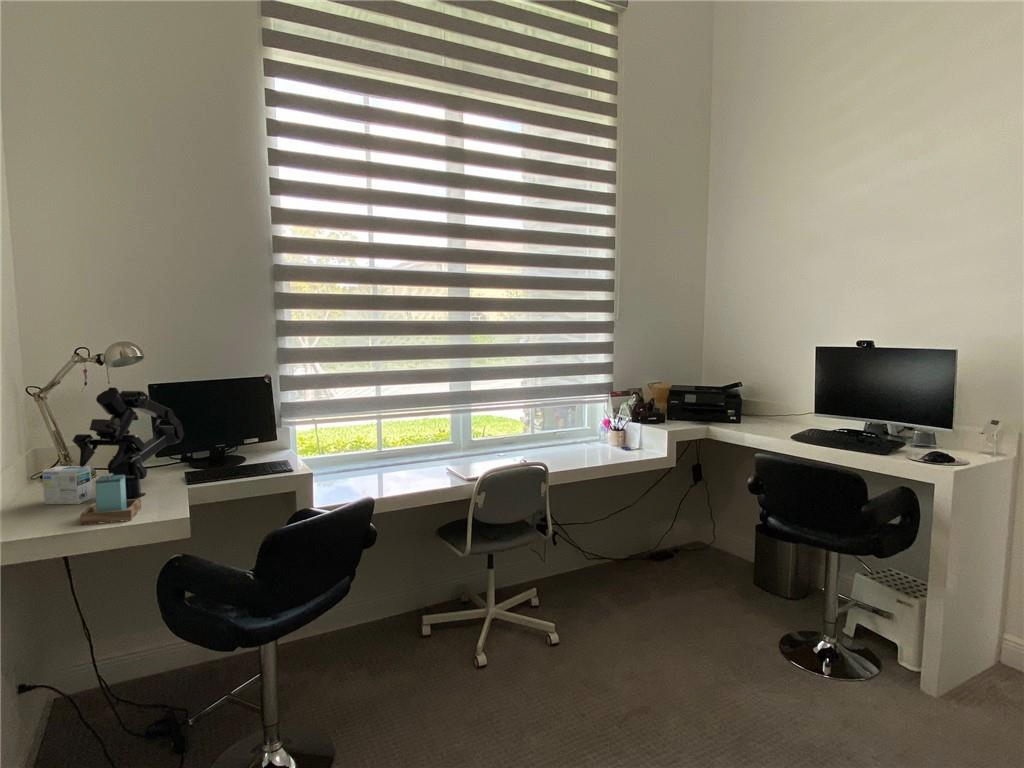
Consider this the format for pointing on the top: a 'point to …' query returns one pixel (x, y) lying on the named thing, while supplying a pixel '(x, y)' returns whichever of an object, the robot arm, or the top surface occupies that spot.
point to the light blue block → (111, 493)
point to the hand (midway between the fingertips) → (96, 466)
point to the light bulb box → (67, 485)
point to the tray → (110, 513)
